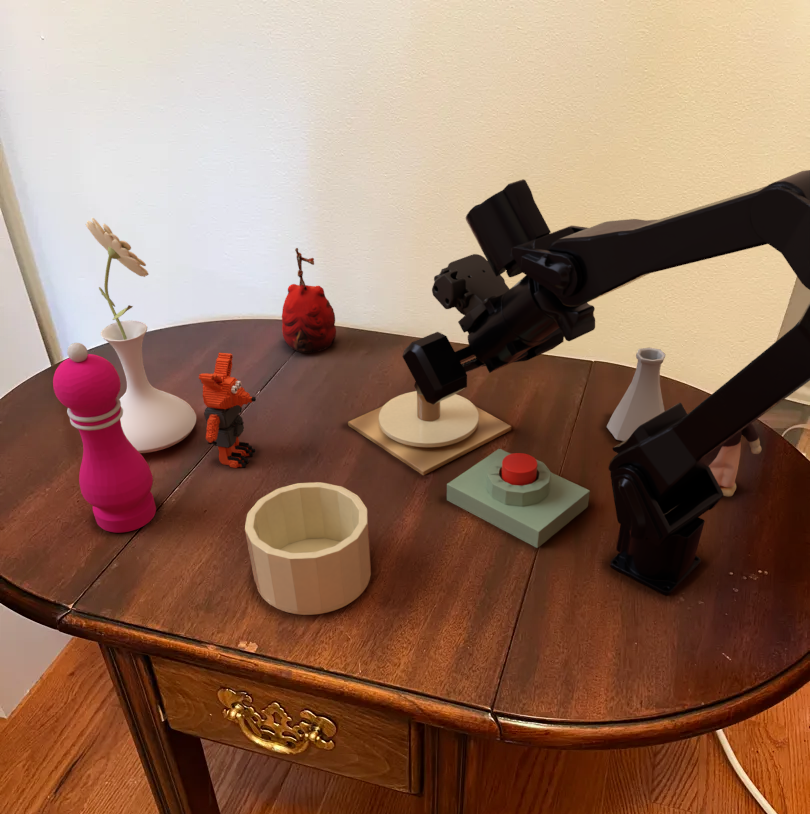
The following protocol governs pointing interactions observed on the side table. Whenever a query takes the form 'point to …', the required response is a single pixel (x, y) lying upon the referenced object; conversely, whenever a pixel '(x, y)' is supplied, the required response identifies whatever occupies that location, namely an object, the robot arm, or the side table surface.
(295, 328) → the red clay folk toy
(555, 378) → the side table surface
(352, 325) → the side table surface
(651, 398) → the flask
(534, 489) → the button base
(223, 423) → the toy animal
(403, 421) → the jar lid
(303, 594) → the jar
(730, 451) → the grandmother figurine
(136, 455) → the pepper mill
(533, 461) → the release button
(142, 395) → the flower in vase
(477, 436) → the wooden board
